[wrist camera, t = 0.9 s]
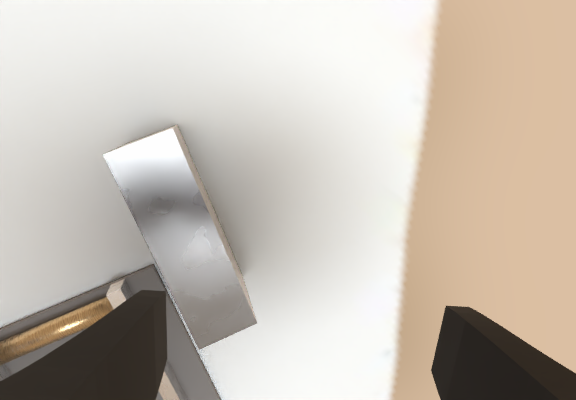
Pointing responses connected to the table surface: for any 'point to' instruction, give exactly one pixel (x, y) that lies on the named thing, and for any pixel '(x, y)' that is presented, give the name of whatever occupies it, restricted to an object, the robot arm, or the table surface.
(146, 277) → the grey slide base plate
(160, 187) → the dark gray rectangular chunk
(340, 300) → the table surface
